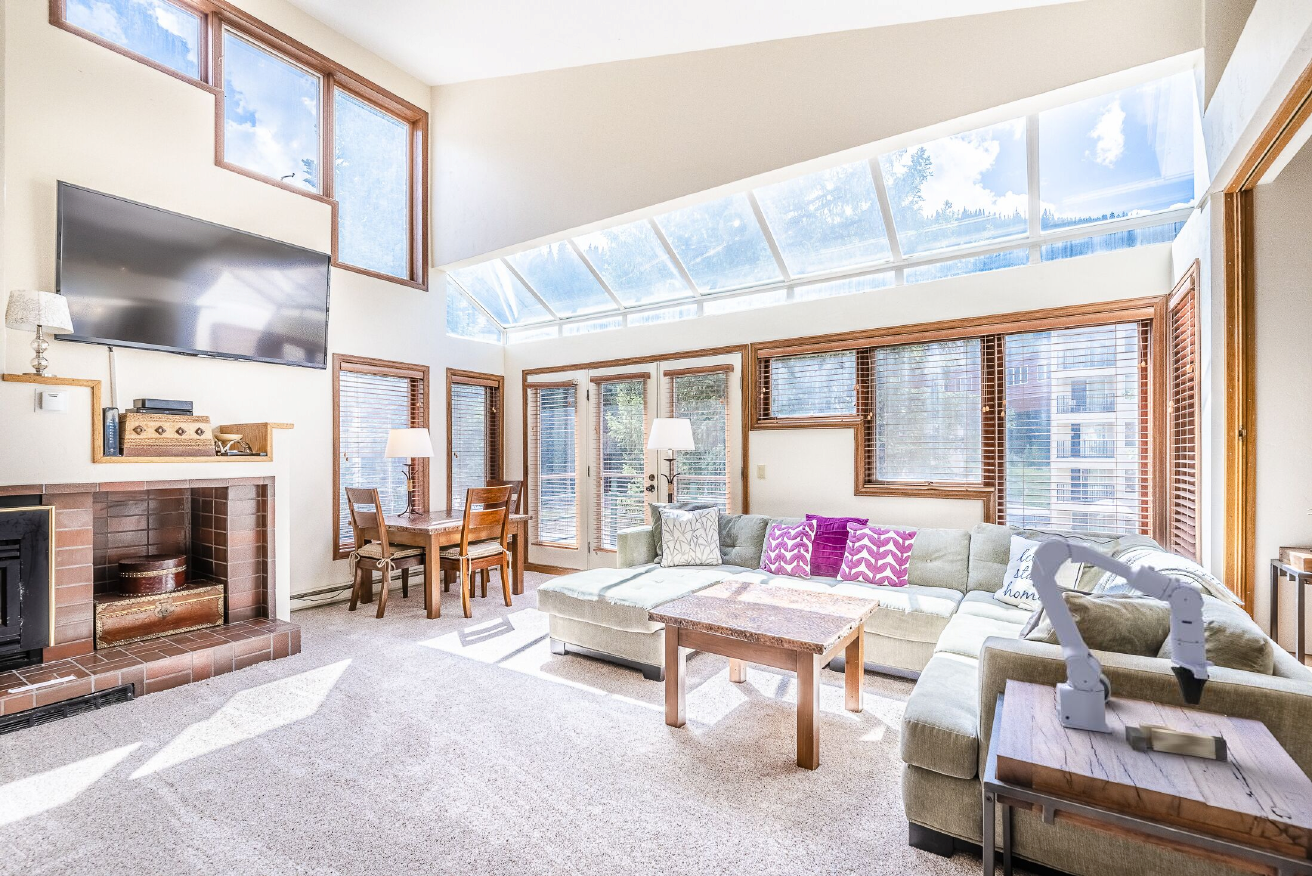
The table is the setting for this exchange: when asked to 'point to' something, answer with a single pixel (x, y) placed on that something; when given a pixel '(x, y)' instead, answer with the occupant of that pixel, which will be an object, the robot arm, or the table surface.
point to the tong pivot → (1142, 735)
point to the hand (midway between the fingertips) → (1191, 703)
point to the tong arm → (1189, 744)
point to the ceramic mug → (1105, 687)
